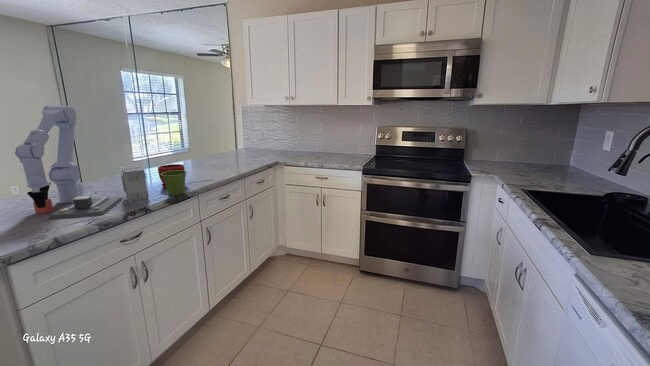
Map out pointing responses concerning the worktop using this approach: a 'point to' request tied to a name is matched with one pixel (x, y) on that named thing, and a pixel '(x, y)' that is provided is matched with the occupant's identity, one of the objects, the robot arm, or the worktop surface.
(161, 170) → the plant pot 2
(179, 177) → the plant pot
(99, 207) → the breaker panel
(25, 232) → the worktop surface
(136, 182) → the circuit breaker
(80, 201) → the breaker handle
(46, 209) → the red rectangular block
